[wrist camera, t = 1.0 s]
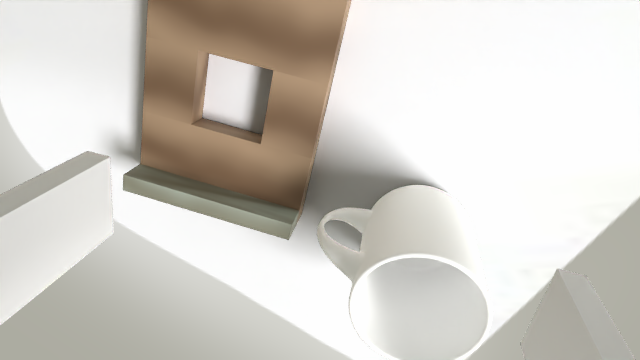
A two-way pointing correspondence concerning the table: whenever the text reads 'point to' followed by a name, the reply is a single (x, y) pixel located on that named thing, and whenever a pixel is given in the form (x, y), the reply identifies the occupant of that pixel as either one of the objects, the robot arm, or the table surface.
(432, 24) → the table surface
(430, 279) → the mug
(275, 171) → the jig
